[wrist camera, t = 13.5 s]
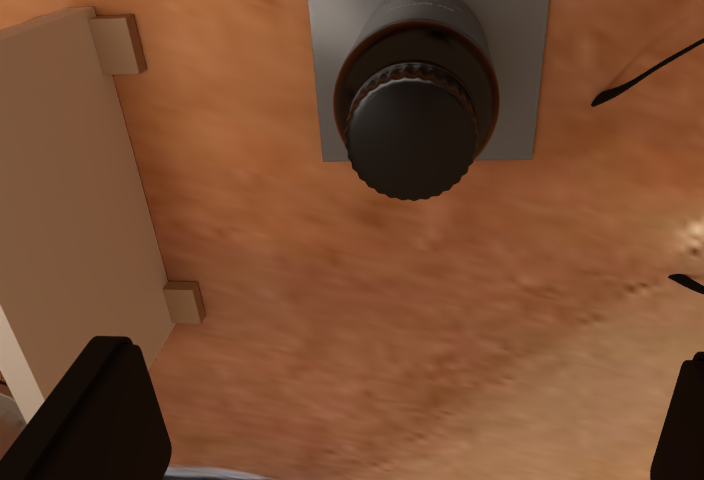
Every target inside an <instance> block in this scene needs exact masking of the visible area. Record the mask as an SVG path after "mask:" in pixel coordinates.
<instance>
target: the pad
mask: <svg viewBox="0 0 704 480" xmlns="http://www.w3.org/2000/svg"><path fill="white" fill-rule="evenodd" d="M387 1H388V0H308V4H309V15H310V26H311V37H312V47H313V58H314V69H315V80H316V91H317V102H318V113H319V123H320V134H321V145H322V156H323V162H332V161H350V160H349V159H348V151H347V149H346V147H345V145H344V143H343V141H342V139H341V137H340V135H339V132H338V130H337V126H336V123H335V118H334V112H333V95H334V88H335V84H336V80H337V77H338V74H339V71H340V69H341V67H342V65H343V63H344V61H345V59H346V57H347V55H348V54H349V52H350V50H351V48H352V47H353V45H354V43H355V41H356V39H357V38H358V36H359V34H360V32H361V31H362V29H363V27H364V25H365V24H366V22H367V21H368V20H369V18H370V17H371V16H372V14H373V13H374V12H375V11H376V10H377V9H378V8H379V7H380V6H382V5H383V4H384V3H385V2H387ZM459 1H461V2H462V3H463V4H465V5H466V6H467V7H468V8H469V9H470V10H471V11H472V12H473V14H474V15H475V16H476V18H477V19H478V21H479V22H480V24H481V26H482V28H483V31H484V33H485V36H486V39H487V43H488V46H489V50H490V54H491V58H492V62H493V65H494V69H495V73H496V77H497V81H498V86H499V98H500V105H499V114H498V120H497V123H496V127H495V129H494V132H493V134H492V136H491V138H490V140H489V142H488V144H487V145H486V147H485V148H484V150H483V151H482V152H481V153H480V155H479V156H478V157H477V158H476V159H475V160H532V157H533V148H534V139H535V129H536V120H537V110H538V101H539V92H540V82H541V73H542V64H543V54H544V45H545V36H546V26H547V17H548V8H549V0H459Z"/></svg>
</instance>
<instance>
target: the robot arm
mask: <svg viewBox="0 0 704 480" xmlns="http://www.w3.org/2000/svg"><path fill="white" fill-rule="evenodd" d="M171 451H172V450H171V442H170V439H169V436H168V433H167V429H166V426H165V423H164V420H163V417H162V414H161V410H160V407H159V404H158V401H157V398H156V395H155V391H154V388H153V385H152V382H151V379H150V376H149V372H148V369H147V366H146V363H145V360H144V357H143V353H142V350H141V348H140V347H139V346H138V345H134V344H133V342H132V340H131V339H130V338H129V337H125V336H95V337H93V338H92V339H91V340H90V341H89V342H88V344H87V345H86V346H85V348H84V349H83V350H82V352H81V353H80V354H79V356H78V357H77V358H76V360H75V361H74V363H73V364H72V365H71V367H70V368H69V369H68V371H67V372H66V373H65V375H64V376H63V377H62V379H61V380H60V381H59V383H58V384H57V385H56V387H55V388H54V389H53V391H52V392H51V393H50V395H49V396H48V397H47V399H46V400H45V401H44V403H43V404H42V405H41V407H40V408H39V409H38V411H37V412H36V413H35V415H34V416H33V417H32V419H31V420H30V421H29V423H28V424H27V423H26V421H25V419H24V417H23V415H22V413H21V411H20V409H19V407H18V405H17V403H16V401H15V399H14V397H13V395H12V393H11V391H10V389H9V387H8V386H6V385H3V384H0V480H162V478H163V476H164V474H165V472H166V470H167V467H168V465H169V462H170V458H171ZM650 479H651V480H704V352H697V353H696V354H695V355H694V357H693V360H685V361H684V362H683V364H682V366H681V369H680V373H679V376H678V379H677V383H676V386H675V389H674V393H673V396H672V399H671V402H670V406H669V409H668V412H667V416H666V419H665V422H664V426H663V429H662V432H661V435H660V439H659V442H658V445H657V449H656V452H655V455H654V459H653V462H652V465H651V470H650Z"/></svg>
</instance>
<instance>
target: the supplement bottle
mask: <svg viewBox="0 0 704 480" xmlns="http://www.w3.org/2000/svg"><path fill="white" fill-rule="evenodd" d="M499 105H500V98H499V86H498V81H497V77H496V73H495V69H494V65H493V62H492V58H491V54H490V50H489V46H488V43H487V39H486V36H485V33H484V31H483V28H482V26H481V24H480V22H479V21H478V19H477V18H476V16H475V15H474V14H473V12H472V11H471V10H470V9H469V8H468V7H467V6H466V5H465V4H463V3H462V2H461V1H459V0H388V1H387V2H385V3H384V4H383V5H382V6H380V7H379V8H378V9H377V10H376V11H375V12H374V13H373V14H372V16H371V17H370V18H369V20H368V21H367V22H366V24H365V25H364V27H363V29H362V31H361V32H360V34H359V36H358V38H357V39H356V41H355V43H354V45H353V47H352V48H351V50H350V52H349V54H348V55H347V57H346V59H345V61H344V63H343V65H342V67H341V69H340V71H339V74H338V77H337V80H336V84H335V88H334V95H333V112H334V118H335V123H336V126H337V130H338V132H339V135H340V137H341V139H342V141H343V143H344V145H345V147H346V149H347V151H348V159H349V160H350V161H351V162H352V168H353V169H354V170H355V171H356V172H357V173H358V175H359V178H360V179H362V180H363V181H365V182H366V184H367V185H368V187H371V188H374V189H375V190H376V191H377V192H378V193H380V194H385V195H387V196H388V197H390V198H398V199H400V200H407V199H409V200H412V201H416V200H418V199H429V198H430V197H432V196H439V195H440V194H441V193H442V192H443V191H447V190H450V188H451V187H452V186H453V185H454V184H456V183H458V182H459V181H460V179H461V177H462V176H463V175H465V174H466V173H467V172H468V167H469V166H470V165H471V164H472V163H473V161H474V160H475V159H476V158H477V157H478V156H479V155H480V153H481V152H482V151H483V150H484V148H485V147H486V145H487V144H488V142H489V140H490V138H491V136H492V134H493V132H494V129H495V127H496V123H497V120H498V114H499Z"/></svg>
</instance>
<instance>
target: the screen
mask: <svg viewBox="0 0 704 480" xmlns="http://www.w3.org/2000/svg"><path fill="white" fill-rule="evenodd" d="M145 70H146V64H145V60H144V56H143V52H142V48H141V43H140V39H139V35H138V31H137V27H136V23H135V18H134V15H111V16H96V13H95V9H94V7H74V8H65V9H62V10H59V11H56V12H53V13H50V14H47V15H44V16H41V17H38V18H35V19H32V20H29V21H26V22H23V23H20V24H17V25H14V26H11V27H9V28H6V29H3V30H0V371H1V373H2V375H3V377H4V379H5V381H6V383H7V385H8V387H9V389H10V391H11V393H12V395H13V397H14V399H15V401H16V403H17V405H18V407H19V409H20V411H21V413H22V415H23V417H24V419H25V421H26V423H27V424H28V423H29V421H30V420H31V419H32V417H33V416H34V415H35V413H36V412H37V411H38V409H39V408H40V407H41V405H42V404H43V403H44V401H45V400H46V399H47V397H48V396H49V395H50V393H51V392H52V391H53V389H54V388H55V387H56V385H57V384H58V383H59V381H60V380H61V379H62V377H63V376H64V375H65V373H66V372H67V371H68V369H69V368H70V367H71V365H72V364H73V363H74V361H75V360H76V358H77V357H78V356H79V354H80V353H81V352H82V350H83V349H84V348H85V346H86V345H87V344H88V342H89V341H90V340H91V339H92V338H93V337H95V336H125V337H129V338H130V339H131V340H132V342H133V344H134V345H138V346H139V347H140V348H141V350H142V353H143V357H144V360H145V363H146V366H147V369H148V371H149V369H150V368H151V366H152V364H153V362H154V361H155V359H156V357H157V356H158V354H159V352H160V350H161V349H162V347H163V345H164V344H165V342H166V340H167V339H168V337H169V335H170V333H171V332H172V330H173V328H174V327H175V325H176V323H185V324H201V323H202V321H203V319H204V317H205V311H204V307H203V303H202V299H201V295H200V290H199V286H198V282H176V281H168V279H167V276H166V272H165V268H164V265H163V261H162V257H161V253H160V250H159V246H158V242H157V239H156V235H155V231H154V228H153V224H152V220H151V216H150V213H149V209H148V205H147V202H146V198H145V194H144V191H143V187H142V183H141V180H140V176H139V172H138V168H137V165H136V161H135V157H134V154H133V150H132V146H131V143H130V139H129V135H128V131H127V128H126V124H125V120H124V117H123V113H122V109H121V106H120V102H119V98H118V94H117V91H116V87H115V83H114V80H113V76H112V75H123V74H140V73H142V72H143V71H145Z"/></svg>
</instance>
